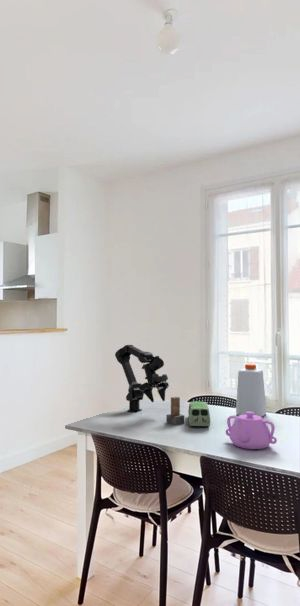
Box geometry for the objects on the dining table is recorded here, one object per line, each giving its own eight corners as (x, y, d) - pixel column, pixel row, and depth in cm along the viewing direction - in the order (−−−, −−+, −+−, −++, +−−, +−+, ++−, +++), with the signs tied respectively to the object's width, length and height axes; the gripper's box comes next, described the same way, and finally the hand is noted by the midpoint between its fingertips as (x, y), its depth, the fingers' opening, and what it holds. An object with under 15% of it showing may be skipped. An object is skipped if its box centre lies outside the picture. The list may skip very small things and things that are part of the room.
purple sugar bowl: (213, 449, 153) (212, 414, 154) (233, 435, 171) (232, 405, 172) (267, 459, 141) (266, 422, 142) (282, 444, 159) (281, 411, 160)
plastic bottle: (261, 419, 202) (261, 366, 204) (234, 415, 209) (233, 365, 211) (267, 413, 215) (266, 364, 217) (241, 410, 222) (241, 362, 224)
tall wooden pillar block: (166, 422, 195) (166, 397, 195) (174, 420, 198) (174, 395, 199) (175, 425, 189) (175, 399, 190) (184, 423, 193) (184, 397, 194)
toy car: (207, 416, 207) (207, 398, 207) (211, 429, 182) (210, 408, 183) (188, 416, 208) (188, 398, 208) (189, 428, 183) (189, 408, 184)
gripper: (150, 368, 198) (158, 397, 191) (171, 368, 211) (180, 395, 205) (135, 376, 204) (143, 404, 197) (157, 375, 217) (165, 402, 211)
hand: (158, 401), depth 203 cm, fingers open, 9 cm apart
